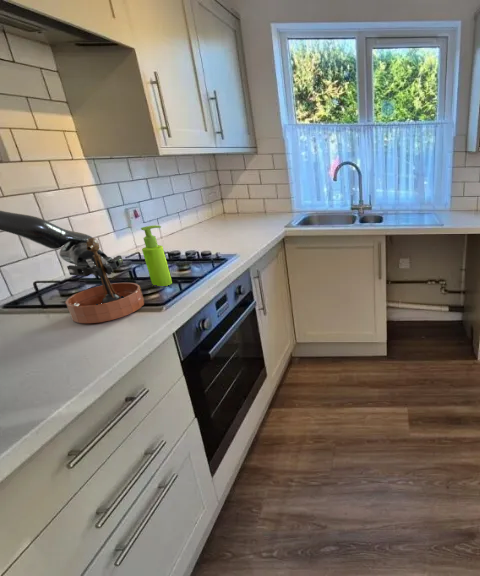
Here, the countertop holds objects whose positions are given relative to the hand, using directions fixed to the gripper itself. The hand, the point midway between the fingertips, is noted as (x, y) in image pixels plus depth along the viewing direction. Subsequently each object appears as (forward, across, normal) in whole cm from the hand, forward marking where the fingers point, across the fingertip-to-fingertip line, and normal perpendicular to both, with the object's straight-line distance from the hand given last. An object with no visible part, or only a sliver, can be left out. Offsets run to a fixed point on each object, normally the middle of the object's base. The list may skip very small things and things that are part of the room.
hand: (104, 272), depth 98 cm
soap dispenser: (-15, +17, +13) cm, 26 cm away
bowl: (-4, -1, +13) cm, 13 cm away
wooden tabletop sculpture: (-3, 0, +11) cm, 12 cm away
